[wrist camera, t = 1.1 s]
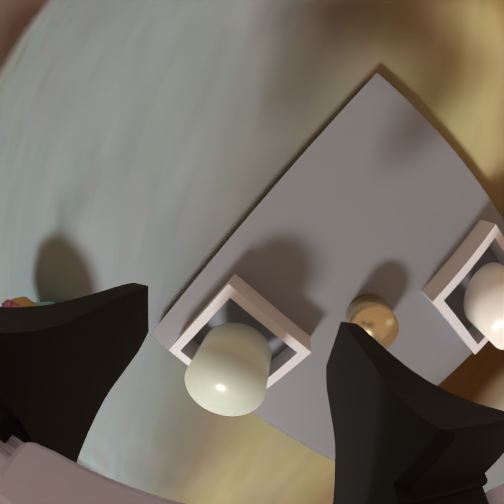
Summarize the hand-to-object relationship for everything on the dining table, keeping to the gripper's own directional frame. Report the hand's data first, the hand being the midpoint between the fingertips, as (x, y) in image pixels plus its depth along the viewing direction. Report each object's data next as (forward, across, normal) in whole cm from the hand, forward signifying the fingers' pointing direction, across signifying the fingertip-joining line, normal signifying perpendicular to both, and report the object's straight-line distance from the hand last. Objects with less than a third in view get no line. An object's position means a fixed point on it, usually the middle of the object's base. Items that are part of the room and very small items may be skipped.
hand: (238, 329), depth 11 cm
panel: (+10, -8, +2) cm, 13 cm away
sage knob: (+6, 0, +6) cm, 8 cm away
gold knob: (+8, -8, +2) cm, 11 cm away
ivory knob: (+6, -16, -1) cm, 17 cm away
